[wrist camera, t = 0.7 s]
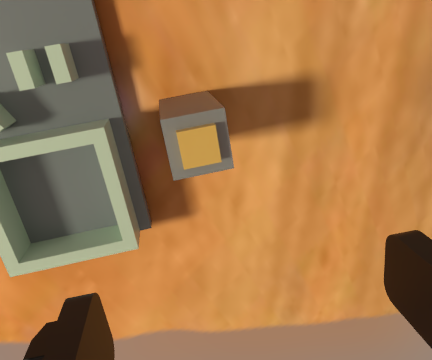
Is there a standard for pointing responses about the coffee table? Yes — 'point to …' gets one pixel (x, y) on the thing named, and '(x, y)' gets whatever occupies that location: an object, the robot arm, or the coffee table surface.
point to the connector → (195, 135)
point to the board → (60, 116)
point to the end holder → (76, 243)
